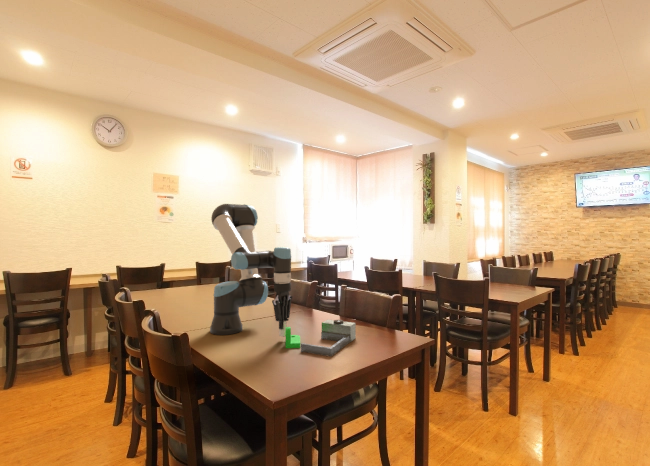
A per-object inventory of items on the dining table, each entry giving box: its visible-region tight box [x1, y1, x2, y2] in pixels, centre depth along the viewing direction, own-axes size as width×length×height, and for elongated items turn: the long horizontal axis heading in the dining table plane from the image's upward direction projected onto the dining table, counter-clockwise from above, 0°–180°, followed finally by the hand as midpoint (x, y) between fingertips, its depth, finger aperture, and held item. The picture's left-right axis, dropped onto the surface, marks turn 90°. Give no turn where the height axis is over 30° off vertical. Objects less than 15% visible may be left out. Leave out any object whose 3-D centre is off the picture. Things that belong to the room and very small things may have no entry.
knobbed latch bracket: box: [300, 319, 357, 357], centre depth 144 cm, size 14×25×8 cm, turn 154°
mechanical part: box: [285, 326, 301, 349], centre depth 146 cm, size 12×6×8 cm, turn 5°
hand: (282, 335), depth 150 cm, fingers closed
